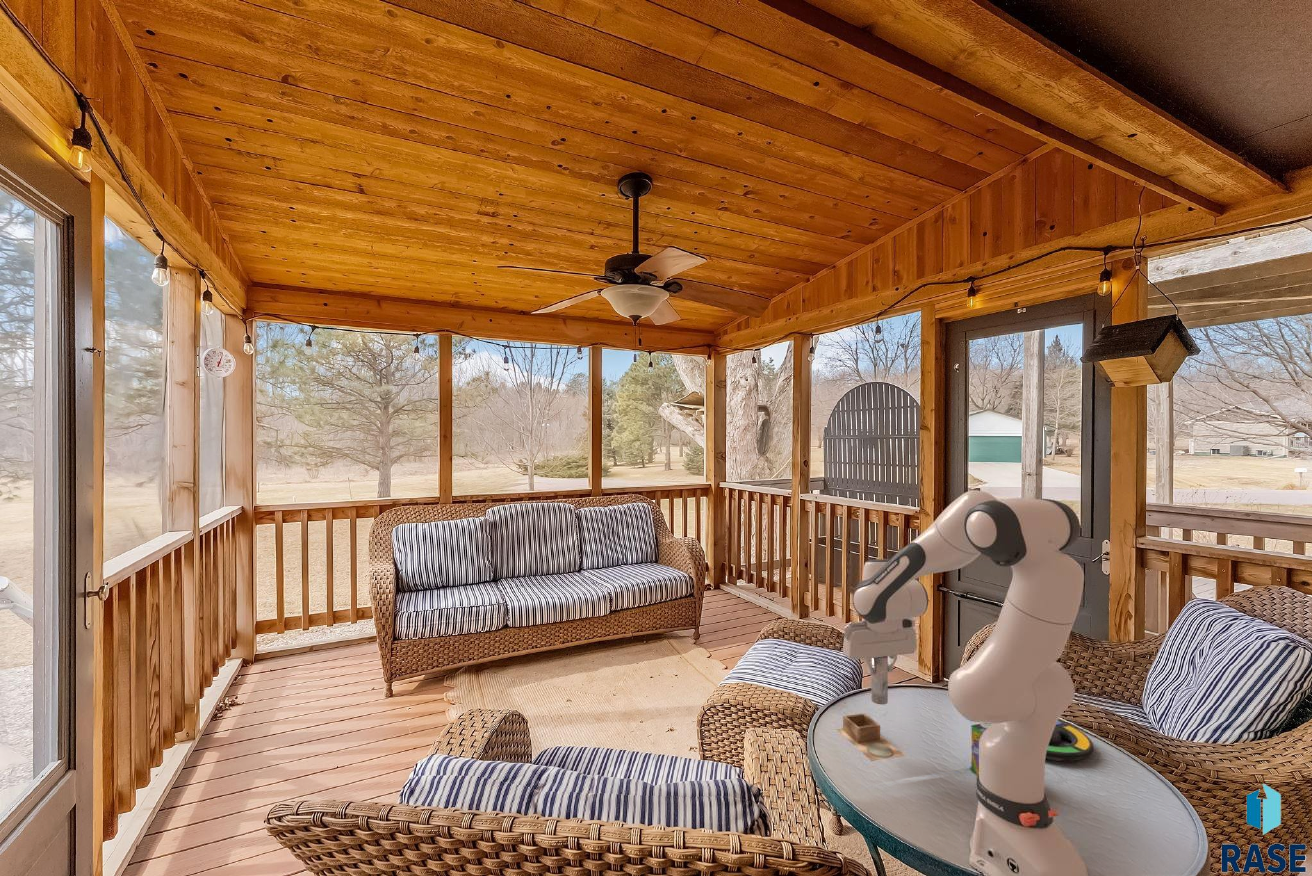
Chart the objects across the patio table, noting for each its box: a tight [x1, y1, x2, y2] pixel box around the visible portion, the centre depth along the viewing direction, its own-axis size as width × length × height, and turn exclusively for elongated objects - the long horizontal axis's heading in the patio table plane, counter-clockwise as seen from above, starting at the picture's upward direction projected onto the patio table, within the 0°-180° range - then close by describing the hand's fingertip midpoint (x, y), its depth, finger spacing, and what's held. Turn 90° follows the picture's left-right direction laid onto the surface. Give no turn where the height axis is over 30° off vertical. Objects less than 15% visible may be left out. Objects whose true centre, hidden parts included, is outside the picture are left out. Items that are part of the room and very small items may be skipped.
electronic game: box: [1045, 719, 1094, 762], centre depth 155 cm, size 23×23×5 cm
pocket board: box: [836, 713, 905, 762], centre depth 153 cm, size 16×10×5 cm, turn 14°
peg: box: [870, 656, 889, 705], centre depth 149 cm, size 4×4×12 cm
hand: (879, 672), depth 149 cm, fingers closed on peg, 4 cm apart
